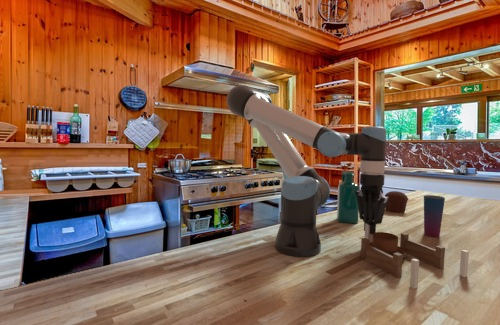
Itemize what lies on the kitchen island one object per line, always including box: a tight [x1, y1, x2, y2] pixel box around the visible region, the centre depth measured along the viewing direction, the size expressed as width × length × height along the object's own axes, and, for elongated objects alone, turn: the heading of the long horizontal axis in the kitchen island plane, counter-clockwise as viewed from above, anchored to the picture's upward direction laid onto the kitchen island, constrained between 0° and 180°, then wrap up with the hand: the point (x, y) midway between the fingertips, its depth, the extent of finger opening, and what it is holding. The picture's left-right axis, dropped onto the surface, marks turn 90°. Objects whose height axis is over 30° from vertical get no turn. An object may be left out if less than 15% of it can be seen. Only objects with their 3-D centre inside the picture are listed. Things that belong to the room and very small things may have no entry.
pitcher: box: [336, 170, 361, 224], centre depth 128 cm, size 10×8×22 cm
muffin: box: [384, 190, 409, 214], centre depth 148 cm, size 12×11×10 cm
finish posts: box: [409, 249, 470, 290], centre depth 73 cm, size 19×1×7 cm, turn 110°
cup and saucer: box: [369, 231, 407, 258], centre depth 91 cm, size 12×12×6 cm
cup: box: [423, 194, 446, 238], centre depth 110 cm, size 7×7×15 cm
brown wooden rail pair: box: [360, 232, 446, 278], centre depth 85 cm, size 18×14×6 cm
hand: (369, 242), depth 97 cm, fingers closed
